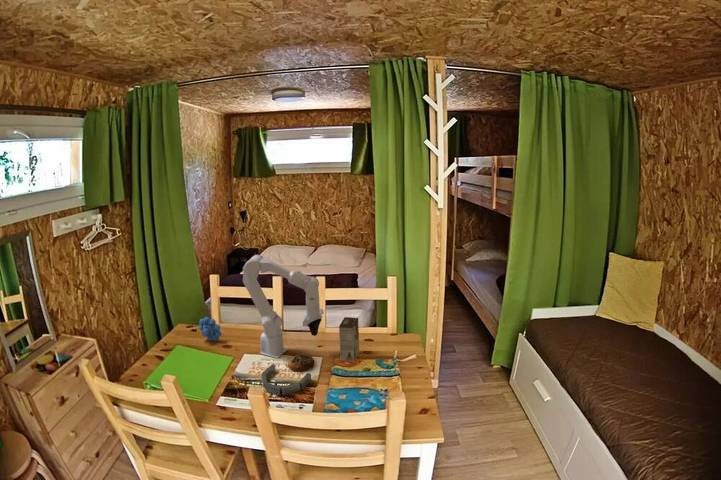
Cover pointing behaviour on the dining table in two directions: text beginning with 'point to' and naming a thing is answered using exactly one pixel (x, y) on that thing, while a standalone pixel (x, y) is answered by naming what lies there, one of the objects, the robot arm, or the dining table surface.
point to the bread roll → (301, 362)
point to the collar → (285, 389)
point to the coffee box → (349, 339)
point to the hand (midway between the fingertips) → (314, 334)
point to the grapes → (209, 328)
